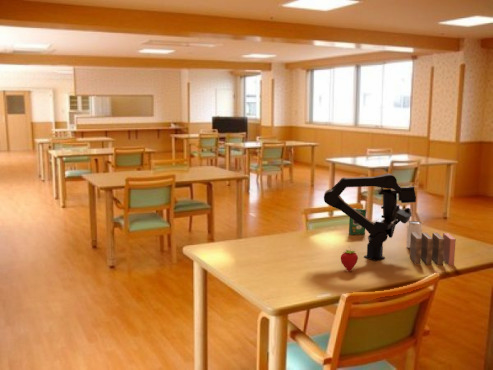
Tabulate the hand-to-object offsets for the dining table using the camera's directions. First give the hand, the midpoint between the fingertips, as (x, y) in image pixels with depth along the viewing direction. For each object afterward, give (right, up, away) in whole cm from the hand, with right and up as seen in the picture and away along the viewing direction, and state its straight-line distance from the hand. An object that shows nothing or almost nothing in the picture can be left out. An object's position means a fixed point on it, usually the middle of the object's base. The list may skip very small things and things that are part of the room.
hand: (390, 237), depth 215 cm
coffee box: (-6, -3, +40) cm, 40 cm away
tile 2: (+14, -9, -4) cm, 17 cm away
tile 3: (+18, -10, -5) cm, 21 cm away
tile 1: (+9, -9, -4) cm, 14 cm away
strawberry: (-22, -12, -17) cm, 30 cm away
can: (+15, -7, +15) cm, 23 cm away
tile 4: (+23, -10, -5) cm, 25 cm away
